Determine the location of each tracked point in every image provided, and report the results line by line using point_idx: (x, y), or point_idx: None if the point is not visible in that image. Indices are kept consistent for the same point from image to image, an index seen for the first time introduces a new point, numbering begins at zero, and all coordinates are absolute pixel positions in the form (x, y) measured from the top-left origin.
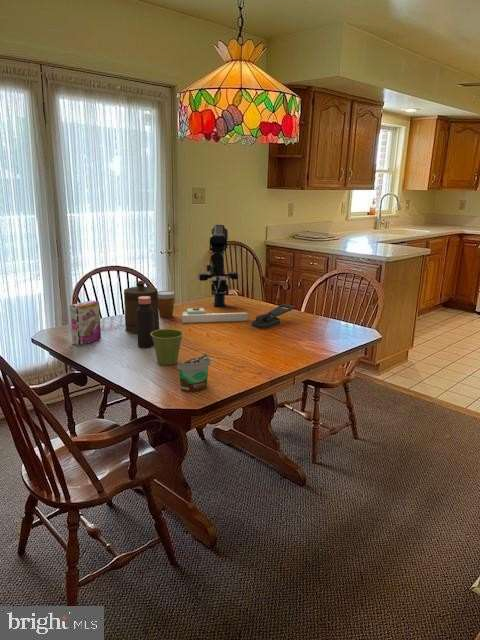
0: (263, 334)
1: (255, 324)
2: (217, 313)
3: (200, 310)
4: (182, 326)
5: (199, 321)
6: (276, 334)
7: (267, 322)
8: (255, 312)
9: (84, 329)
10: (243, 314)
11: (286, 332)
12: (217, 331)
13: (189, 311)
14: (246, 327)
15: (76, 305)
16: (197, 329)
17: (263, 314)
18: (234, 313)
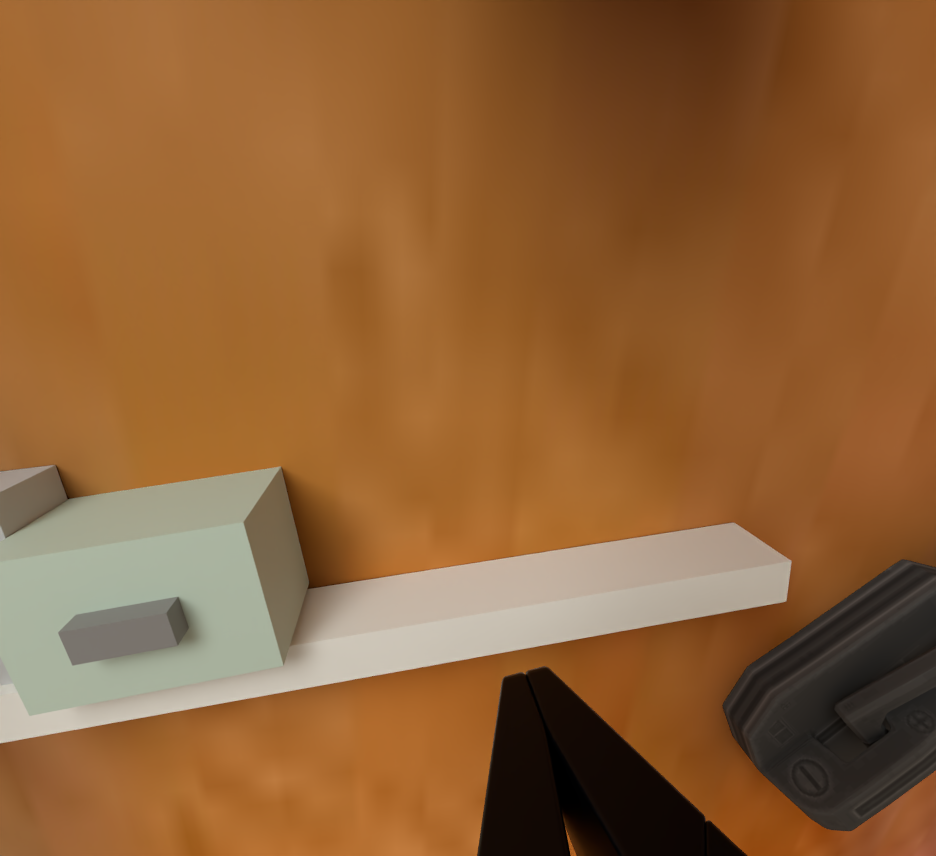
0: (745, 853)
1: (756, 766)
2: (453, 622)
3: (213, 649)
4: (93, 773)
5: None
6: (822, 841)
7: (861, 743)
8: (901, 245)
9: None
10: (736, 603)
11: (897, 800)
12: (436, 846)
13: (50, 710)
14: (673, 736)
15: None
16: (262, 827)
17: (908, 767)
18: (650, 610)
